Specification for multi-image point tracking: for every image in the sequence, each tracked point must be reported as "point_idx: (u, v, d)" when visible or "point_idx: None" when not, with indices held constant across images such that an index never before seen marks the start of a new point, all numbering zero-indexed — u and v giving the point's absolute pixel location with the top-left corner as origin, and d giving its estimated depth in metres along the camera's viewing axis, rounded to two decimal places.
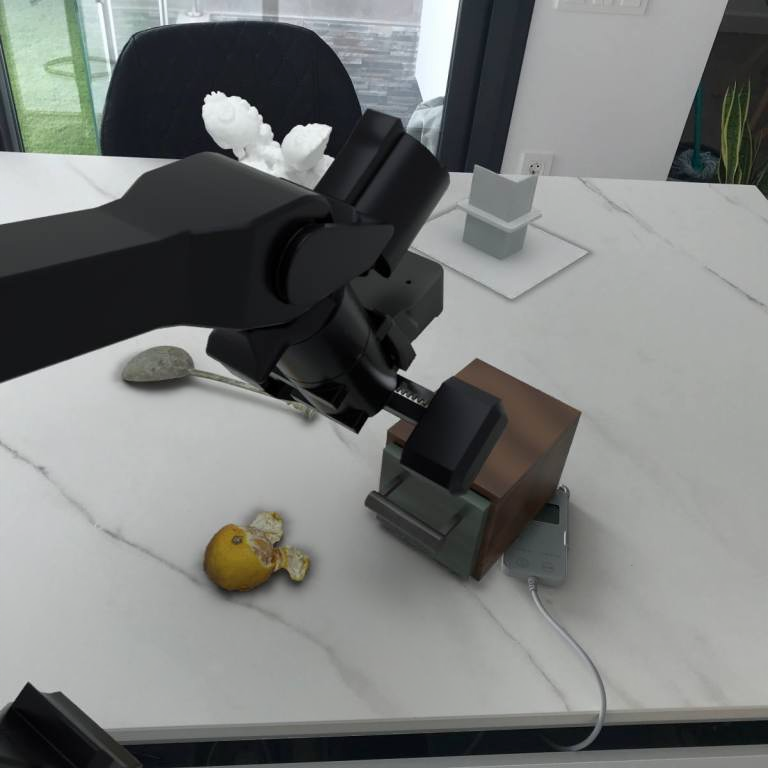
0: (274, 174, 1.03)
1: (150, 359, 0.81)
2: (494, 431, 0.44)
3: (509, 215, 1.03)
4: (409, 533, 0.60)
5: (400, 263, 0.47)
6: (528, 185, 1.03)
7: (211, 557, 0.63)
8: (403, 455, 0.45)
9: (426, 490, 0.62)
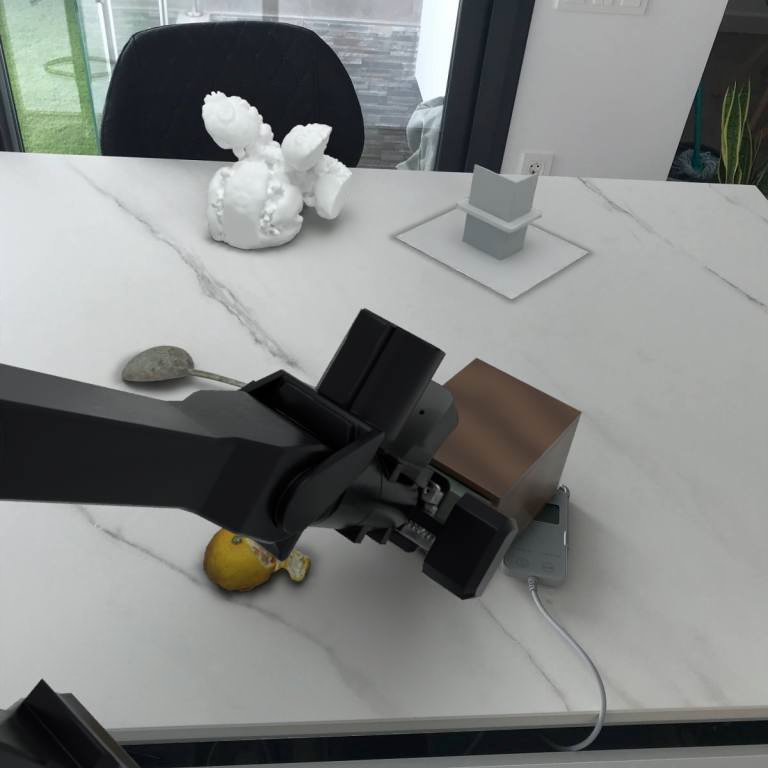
0: (274, 174, 1.03)
1: (150, 359, 0.81)
2: (502, 547, 0.50)
3: (509, 215, 1.03)
4: None
5: None
6: (528, 185, 1.03)
7: (211, 557, 0.63)
8: (423, 567, 0.51)
9: None
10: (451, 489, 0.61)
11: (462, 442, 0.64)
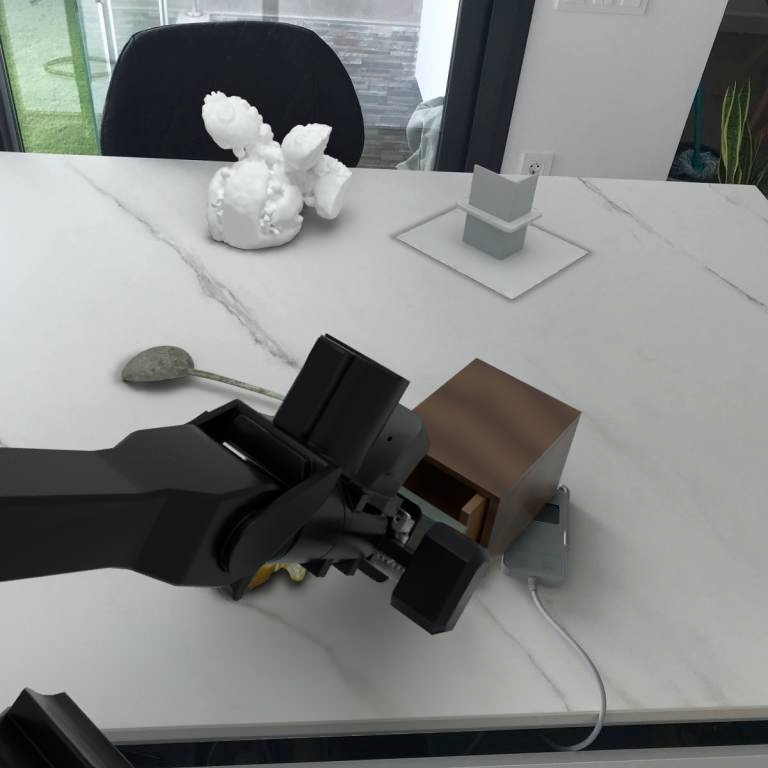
0: (274, 174, 1.03)
1: (150, 359, 0.81)
2: (473, 580, 0.48)
3: (509, 215, 1.03)
4: None
5: None
6: (528, 185, 1.03)
7: None
8: (392, 600, 0.49)
9: None
10: (426, 513, 0.59)
11: (462, 442, 0.64)
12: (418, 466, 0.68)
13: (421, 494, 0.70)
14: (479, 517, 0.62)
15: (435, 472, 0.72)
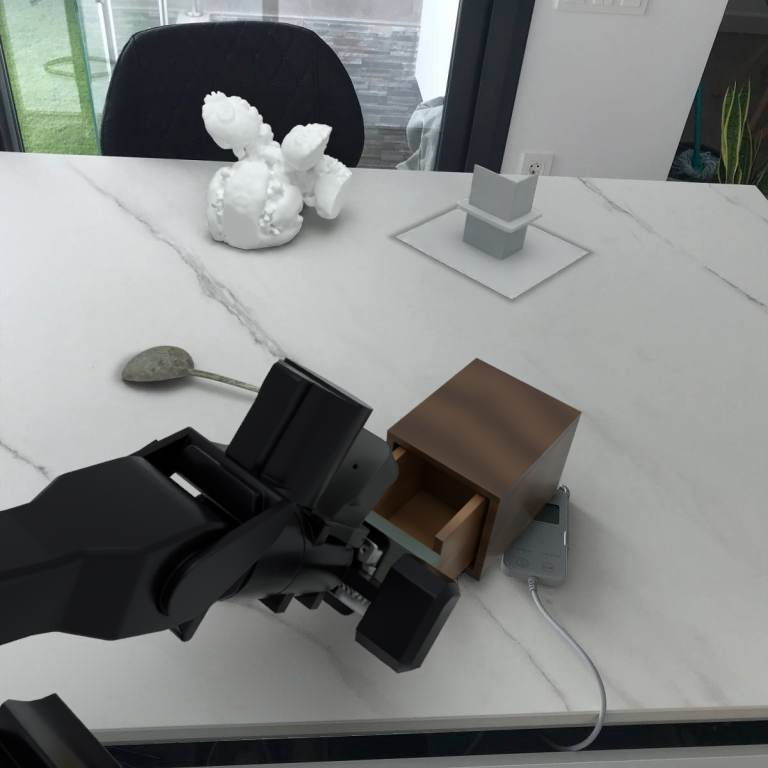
0: (274, 174, 1.03)
1: (150, 359, 0.81)
2: (441, 616, 0.46)
3: (509, 215, 1.03)
4: None
5: None
6: (528, 185, 1.03)
7: None
8: (357, 636, 0.47)
9: None
10: (398, 541, 0.56)
11: (462, 442, 0.64)
12: (394, 488, 0.66)
13: (397, 516, 0.68)
14: (454, 543, 0.59)
15: (412, 493, 0.70)
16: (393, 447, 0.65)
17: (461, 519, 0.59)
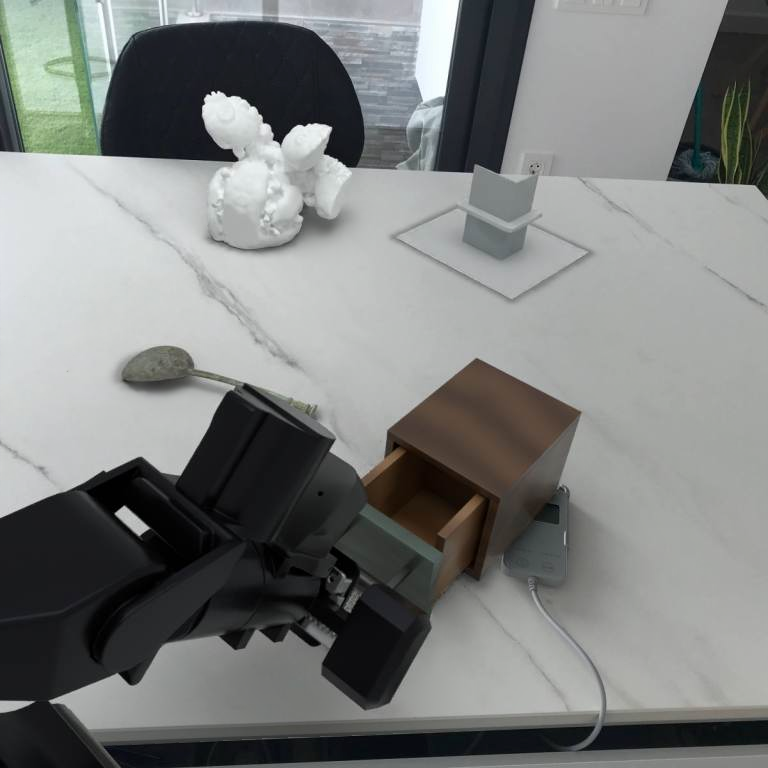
0: (274, 174, 1.03)
1: (150, 359, 0.81)
2: (410, 650, 0.44)
3: (509, 215, 1.03)
4: None
5: None
6: (528, 185, 1.03)
7: None
8: (323, 671, 0.45)
9: (375, 538, 0.58)
10: (400, 539, 0.57)
11: (462, 442, 0.64)
12: (396, 486, 0.66)
13: (399, 514, 0.68)
14: (456, 541, 0.60)
15: (414, 491, 0.70)
16: (393, 447, 0.65)
17: (463, 517, 0.59)
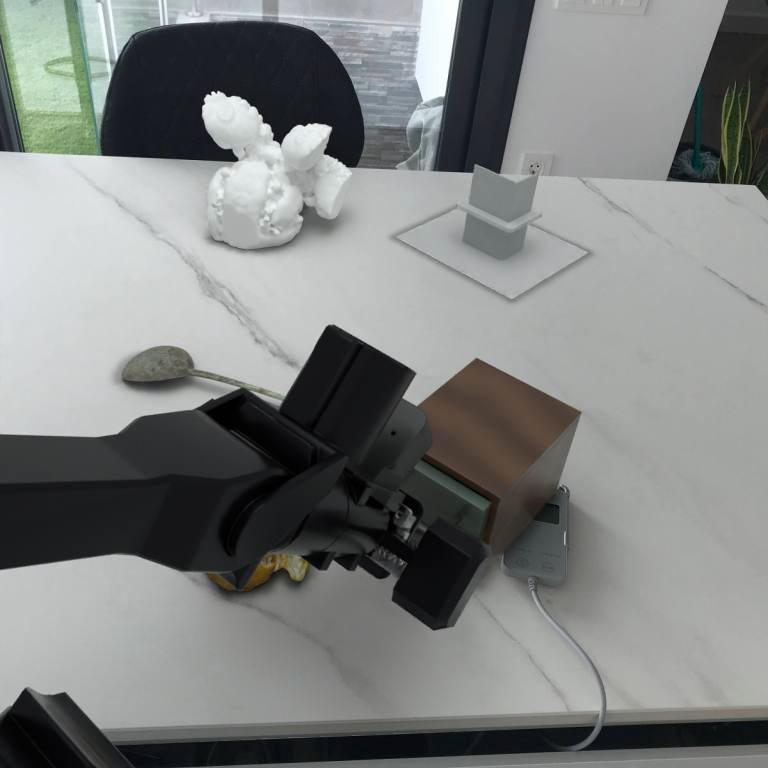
0: (274, 174, 1.03)
1: (150, 359, 0.81)
2: (475, 575, 0.48)
3: (509, 215, 1.03)
4: None
5: None
6: (528, 185, 1.03)
7: None
8: (393, 595, 0.49)
9: (426, 490, 0.62)
10: (451, 489, 0.61)
11: (462, 442, 0.64)
12: None
13: None
14: None
15: None
16: None
17: None
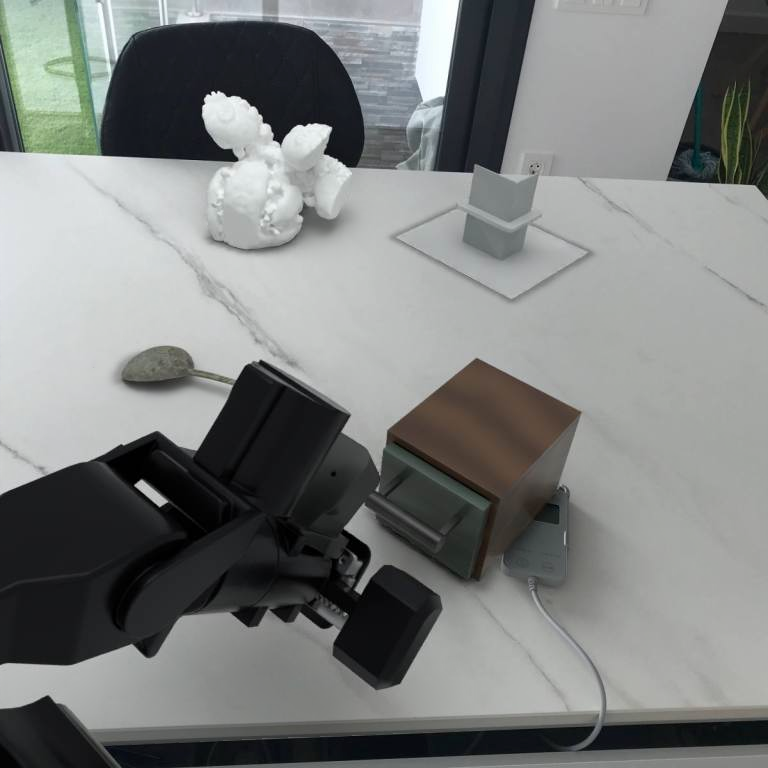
0: (274, 174, 1.03)
1: (150, 359, 0.81)
2: (422, 630, 0.44)
3: (509, 215, 1.03)
4: (409, 533, 0.60)
5: None
6: (528, 185, 1.03)
7: None
8: (334, 651, 0.45)
9: (426, 490, 0.62)
10: (451, 489, 0.61)
11: (462, 442, 0.64)
12: None
13: None
14: None
15: None
16: None
17: None
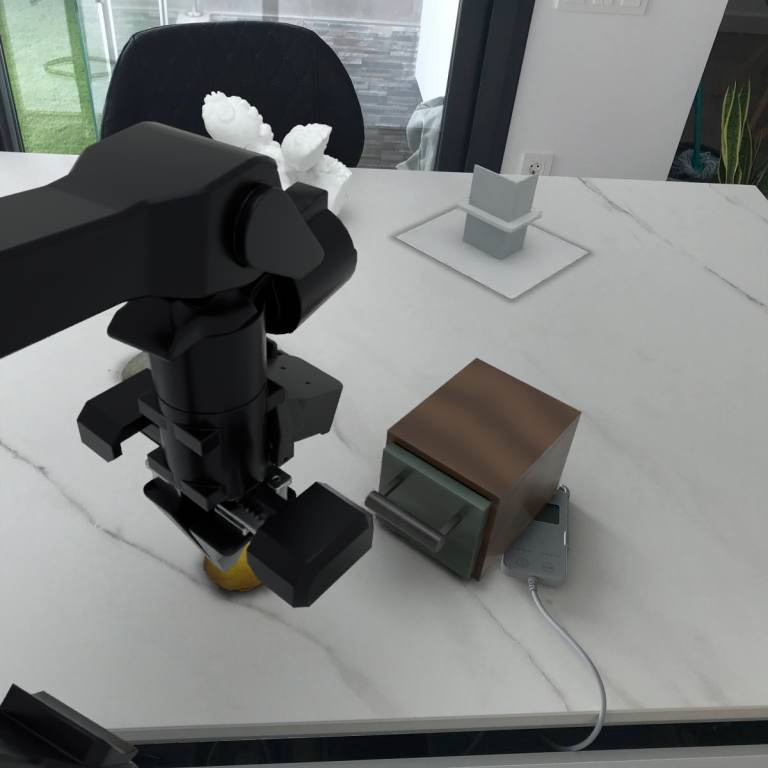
0: None
1: None
2: (358, 542, 0.41)
3: (509, 215, 1.03)
4: (409, 533, 0.60)
5: (302, 370, 0.47)
6: (528, 185, 1.03)
7: None
8: (253, 540, 0.39)
9: (426, 490, 0.62)
10: (451, 489, 0.61)
11: (462, 442, 0.64)
12: None
13: None
14: None
15: None
16: None
17: None
